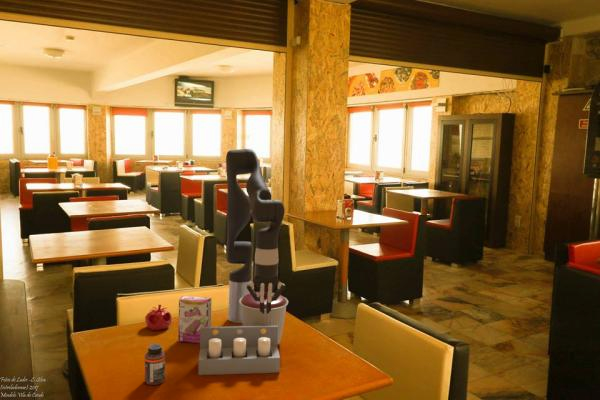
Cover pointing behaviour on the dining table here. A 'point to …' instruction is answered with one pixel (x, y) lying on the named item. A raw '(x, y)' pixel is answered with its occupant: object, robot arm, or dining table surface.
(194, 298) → the candy bar box
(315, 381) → the dining table surface
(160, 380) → the supplement bottle
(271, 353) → the console
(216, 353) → the button
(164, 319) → the pomegranate
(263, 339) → the button
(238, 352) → the middle button
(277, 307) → the canister
